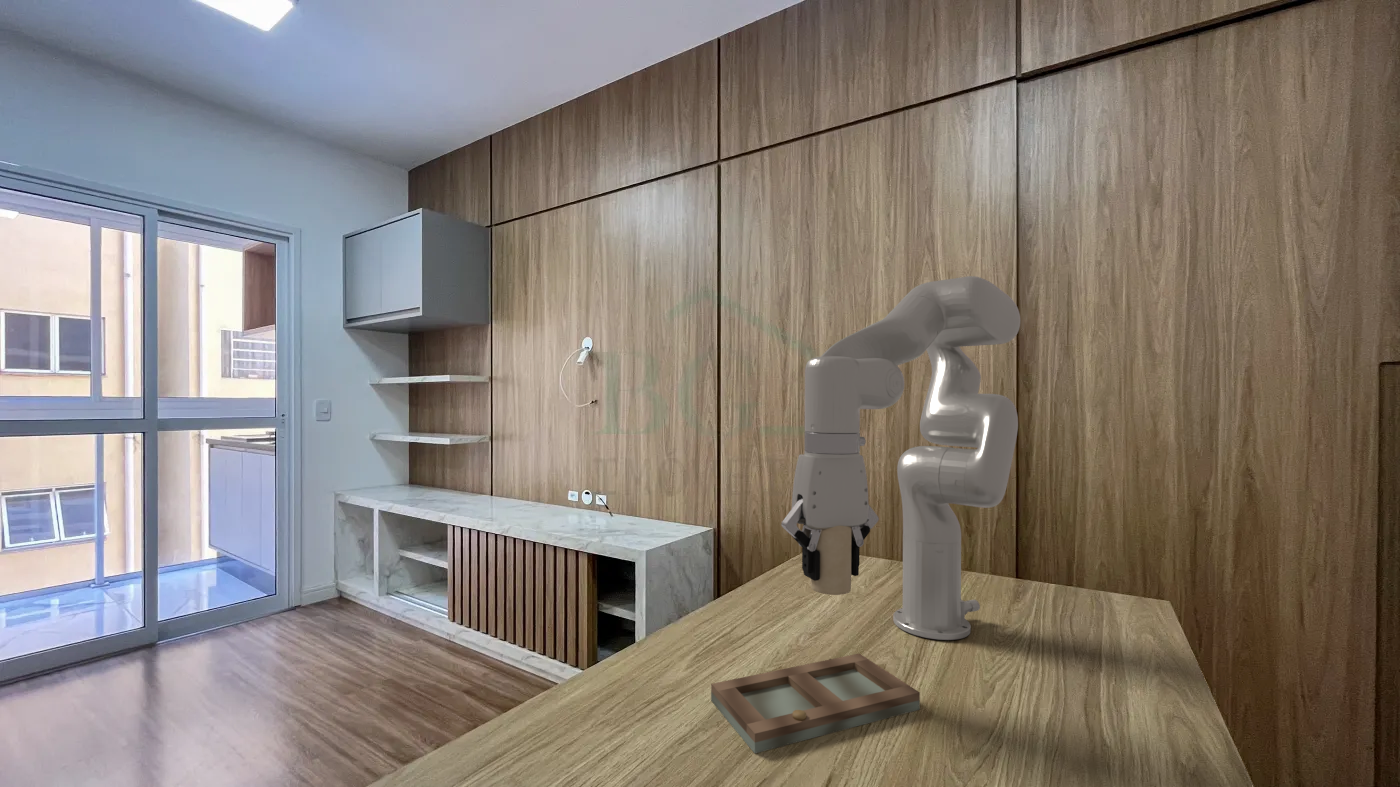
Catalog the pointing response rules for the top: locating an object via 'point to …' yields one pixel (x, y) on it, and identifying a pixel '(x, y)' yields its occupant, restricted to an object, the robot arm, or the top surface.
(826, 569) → the candle
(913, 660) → the top surface
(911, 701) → the divided tray
